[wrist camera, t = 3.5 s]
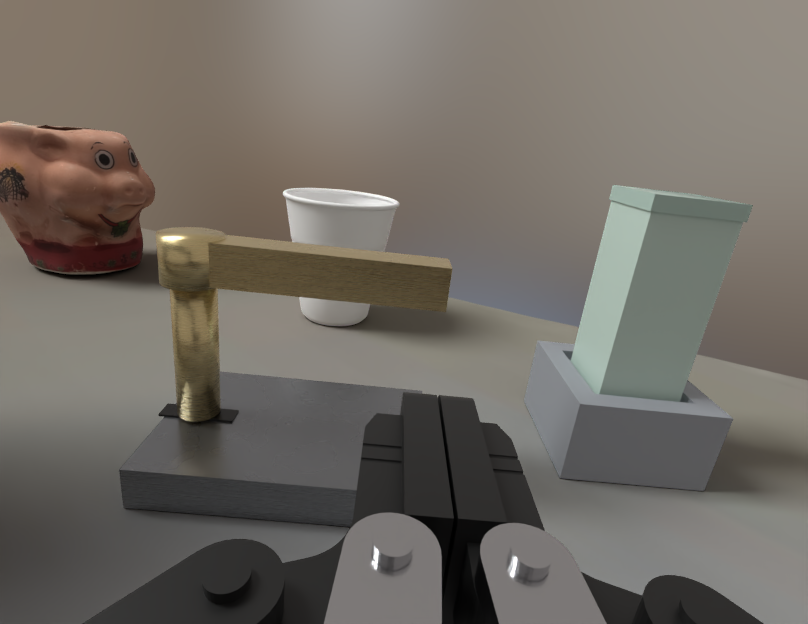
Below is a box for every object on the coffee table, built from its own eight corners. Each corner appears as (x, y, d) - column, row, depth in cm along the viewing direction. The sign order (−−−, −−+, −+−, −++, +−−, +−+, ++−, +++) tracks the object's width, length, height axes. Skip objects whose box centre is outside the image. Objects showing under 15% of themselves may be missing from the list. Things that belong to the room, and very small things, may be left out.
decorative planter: (-60, 258, 47) (-94, 107, 42) (57, 239, 58) (39, 117, 54) (101, 296, 43) (82, 131, 38) (194, 267, 54) (189, 137, 49)
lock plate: (116, 507, 20) (111, 466, 20) (200, 398, 29) (199, 368, 28) (423, 532, 21) (430, 494, 20) (417, 419, 29) (422, 389, 29)
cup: (404, 332, 42) (419, 208, 39) (294, 341, 38) (298, 202, 34) (365, 296, 51) (374, 191, 47) (270, 300, 46) (272, 184, 43)
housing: (703, 491, 26) (733, 418, 24) (559, 478, 25) (580, 403, 24) (635, 411, 33) (654, 352, 32) (523, 400, 33) (537, 340, 31)
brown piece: (157, 423, 22) (142, 236, 19) (183, 393, 25) (173, 224, 22) (427, 448, 23) (453, 269, 20) (424, 416, 26) (447, 254, 23)
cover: (680, 408, 26) (753, 205, 22) (596, 400, 26) (655, 194, 22) (640, 369, 30) (694, 194, 27) (568, 362, 30) (613, 184, 26)
